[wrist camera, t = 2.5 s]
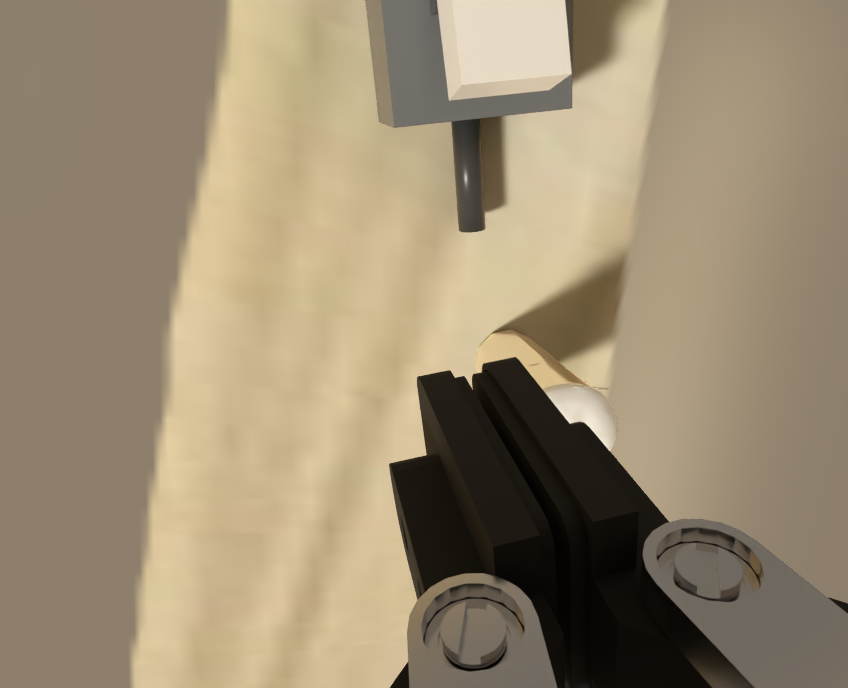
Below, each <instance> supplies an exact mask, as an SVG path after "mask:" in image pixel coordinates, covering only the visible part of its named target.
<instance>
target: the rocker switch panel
mask: <svg viewBox="0 0 848 688" xmlns="http://www.w3.org/2000/svg"><path fill="white" fill-rule="evenodd" d="M565 5H566V16H567V27H568V38H569V50H570V61H571V72H572V17H573V0H565ZM366 9H367V17H368V26H369V35H370V44H371V53H372V62H373V71H374V80H375V89H376V98H377V107H378V115H379V122H381V123H383V124H386V125H388V126H391V127H394V128H396V127H405V126H415V125H424V124H433V123H442V122H452V137H453V151H454V166H455V180H456V195H457V210H458V224H459V231H461V232H478V231H482V230H484V229H485V212H484V193H483V173H482V154H481V134H480V118H488V117H497V116H506V115H515V114H524V113H534V112H543V111H552V110H561V109H570V108H572V74H571V75H569V76H568V77H567V78H565V79H564V80H562V81H561V82H560V83H558V84H557V85H556V86H554V87H553V88H551V89H550V90H546V91H536V92H527V93H517V94H508V95H498V96H488V97H479V98H469V99H460V100H450V101H449V97H448V88H447V80H446V72H445V64H444V55H443V47H442V39H441V31H440V22H439V14H438V6H437V0H366Z"/></svg>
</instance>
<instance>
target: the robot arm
mask: <svg viewBox="0 0 848 688" xmlns="http://www.w3.org/2000/svg"><path fill="white" fill-rule="evenodd" d="M472 386H473V390H472V388H471V386H470V385H469V383H468V381H467V379H466V378H465V377H464V376H462V377H457V378H454V376H453V374H452V372H451V371H450V370H448V371H444V372H439V373H434V374H429V375H424V376H419V377H417V387H418V395H419V402H420V409H421V417H422V424H423V431H424V438H425V446H426V453H427V455H426V456H422V457H417V458H413V459H408V460H404V461H399V462H394V463H390V464H389V467H390V475H391V481H392V487H393V493H394V498H395V504H396V510H397V515H398V520H399V525H400V530H401V534H402V539H403V543H404V548H405V552H406V556H407V560H408V564H409V568H410V572H411V576H412V580H413V584H414V588H415V591H416V595H417V599H418V600H417V602H416V604H415V606H414V608H413V610H412V612H411V614H410V616H409V623H408V630H407V640H408V663H407V664H406V665H405V667H404V668H403V670H402V671H401V673H400V674H399V675H398V677H397V678H396V680H395V681H394V682H393V684H392V685H391V687H390V688H848V604H847V603H844V602H841V601H838V600H835V599H832V598H828V597H826V596H825V595H824V594H822V593H821V592H820V591H819V590H818V589H816V588H815V587H814V586H812V585H811V584H810V583H809V582H808V581H806V580H805V579H804V578H803V577H801V576H800V575H799V574H798V573H796V572H795V571H794V570H793V569H791V568H790V567H789V566H788V565H786V564H785V563H784V562H783V561H781V560H780V559H779V558H777V557H776V556H775V555H774V554H773V553H771V552H770V551H769V550H768V549H766V548H765V547H764V546H763V545H761V544H760V543H759V542H758V541H756V540H755V539H753V538H751V537H750V536H748V535H747V534H745V533H744V532H742V531H740V530H738V529H736V528H733V527H731V526H728V525H725V524H723V523H720V522H714V521H709V520H704V519H681V520H677V521H672V522H669V521H668V520H667V519H666V518H665V517H664V515H663V514H662V513H661V512H660V511H659V509H658V508H657V507H656V506H655V505H654V504H653V502H652V501H651V500H650V499H649V497H648V496H647V495H646V494H645V493H644V491H643V490H642V489H641V488H640V487H639V486H638V484H637V483H636V482H635V481H634V480H633V478H632V477H631V476H630V475H629V474H628V472H627V471H626V470H625V469H624V468H623V466H622V465H621V464H620V463H619V462H618V461H617V459H616V458H615V457H614V456H613V455H612V454H611V452H610V451H609V450H608V449H607V447H606V446H605V445H604V444H603V443H602V441H601V440H600V439H599V438H598V437H597V435H596V434H595V433H594V432H593V431H592V430H591V428H590V427H589V426H588V425H586V424H585V423H584V422H575V423H571V424H570V423H569V422H568V421H567V420H566V418H565V417H564V416H563V415H562V413H561V412H560V411H559V410H558V408H557V407H556V406H555V405H554V403H553V402H552V401H551V399H550V398H549V397H548V396H547V394H546V393H545V392H544V391H543V389H542V388H541V387H540V386H539V384H538V383H537V382H536V381H535V379H534V378H533V377H532V376H531V374H530V373H529V372H528V370H527V369H526V368H525V367H524V365H523V364H522V363H521V362H520V360H519V359H518V358H517V357H512V358H508V359H503V360H498V361H493V362H488V363H483V365H482V372H481V373H477V374H473V376H472Z"/></svg>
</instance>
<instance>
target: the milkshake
mask: <svg viewBox="0 0 848 688" xmlns="http://www.w3.org/2000/svg"><path fill="white" fill-rule="evenodd" d="M512 357H517V358H518V359H519V360H520V362H521V363H522V364H523V365H524V367H525V368H526V369H527V370H528V372H529V373H530V374H531V376H532V377H533V378H534V379H535V381H536V382H537V383H538V384H539V386H540V387H541V388H542V389H543V391H544V392H545V393H546V394H547V396H548V397H549V398H550V399H551V401H552V402H553V403H554V405H555V406H556V407H557V408H558V410H559V411H560V412H561V413H562V415H563V416H564V417H565V418H566V420H567V421H568V422H569V423H570V424H571V423H575V422H584V423H585V424H586V425H588V426H589V427H590V428H591V430H592V431H593V432H594V433H595V434H596V435H597V437H598V438H599V439H600V440H601V441H602V443H603V444H604V445H605V446H606V447H607V449H608V450H609V451H611V449H612V446H613V444H614V442H615V439H616V437H617V432H618V423H617V418H616V415H615V413H614V411H613V408H612V406H611V404H610V402H609V401H608V400H607V398H606V397H605V396H604V395H603V394H602V393H601V392H599V391H598V390H596V389H608V388H601V387H592V386H590V385H589V384H587V383H586V382H585V381H583V380H582V379H581V378H579V377H578V376H576V375H575V374H574V373H572V372H571V371H570V370H568V369H567V368H566V367H565V366H563V365H562V364H561V363H560V362H558V361H557V360H556V359H555V358H553V357H552V356H551V355H550V354H548V353H547V352H546V351H545V350H543V349H542V348H541V347H540V346H538V345H537V344H536V343H535V342H533V341H532V340H531V339H530V338H528V337H527V336H525V335H522V334H520V333H518V332H515V331H513V330H511V329H509V330H505V331H501V332H496V333H492V334H491V335H490V336H489V337H488V338H487V339H486V340H485V341H484V342H483V343H482V344H481V345H480V346H479V347H478V350H477V355H476V360H475V368H476V370H477V373H481V372H482V365H483V363H488V362H493V361H498V360H503V359H508V358H512Z"/></svg>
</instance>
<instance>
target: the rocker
mask: <svg viewBox="0 0 848 688" xmlns="http://www.w3.org/2000/svg"><path fill="white" fill-rule="evenodd" d="M437 6H438V14H439V22H440V31H441V39H442V47H443V55H444V64H445V72H446V80H447V88H448V97H449V101H450V100H460V99H469V98H479V97H488V96H498V95H508V94H517V93H527V92H536V91H546V90H550V89H551V88H553V87H554V86H556V85H557V84H558V83H560V82H561V81H562V80H564V79H565V78H567V77H568V76H569V75H571V74H572V72H571V61H570V50H569V38H568V27H567V16H566V5H565V0H437Z"/></svg>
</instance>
